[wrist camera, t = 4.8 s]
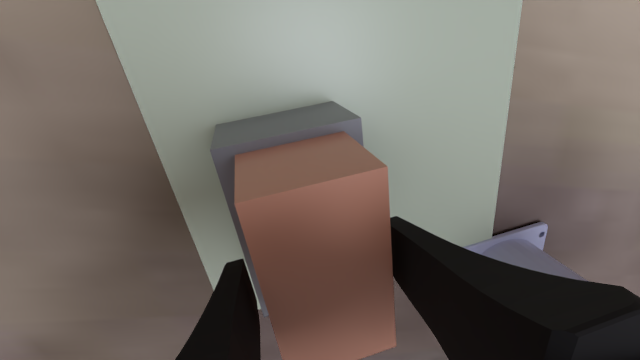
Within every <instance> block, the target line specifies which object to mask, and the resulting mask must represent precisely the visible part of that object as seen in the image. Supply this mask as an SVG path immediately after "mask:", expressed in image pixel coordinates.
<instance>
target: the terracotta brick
mask: <svg viewBox="0 0 640 360" xmlns="http://www.w3.org/2000/svg"><path fill="white" fill-rule="evenodd" d="M234 204H235V207H236V211H237V214H238V217H239V220H240V224H241V227H242V230H243V233H244V236H245V240H246V243H247V246H248V249H249V253H250V256H251V259H252V262H253V266H254V269H255V272H256V275H257V279H258V282H259V285H260V288H261V291H262V295H263V298H264V301H265V304H266V308H267V311H268V314H269V317H270V321H271V324H272V327H273V330H274V333H275V337H276V340H277V343H278V346H279V350H280V353H281V356H282V359H283V360H359V359H362V358H365V357H367V356H370V355H373V354H376V353H379V352H382V351H385V350H387V349H390V348H393V347H396V329H395V308H394V288H393V267H392V246H391V225H390V205H389V184H388V166H386V165H385V164H384V163H383V162H382V161H380V160H379V159H378V158H377V157H375V156H374V155H373V154H372V153H370V152H369V151H368V150H367V149H365V148H364V147H363V146H362V145H360V144H359V143H358V142H357V141H356V140H354V139H353V138H352V137H351V136H349V135H348V134H347V133H346V132H344V131H342V132H338V133H333V134H329V135H324V136H319V137H315V138H310V139H306V140H301V141H296V142H292V143H287V144H283V145H278V146H274V147H269V148H264V149H260V150H255V151H251V152H246V153H241V154H237V155H235V189H234Z"/></svg>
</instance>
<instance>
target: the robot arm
mask: <svg viewBox="0 0 640 360" xmlns="http://www.w3.org/2000/svg"><path fill="white" fill-rule="evenodd" d="M390 225H391V246H392V267H393V276H394V278H395V280H396V281H397V283H398V284H399V286H400V287H401V289H402V290H403V291H404V293H405V294H406V296H407V297H408V299H409V300H410V301H411V303H412V304H413V305H414V307H415V308H416V310H417V311H418V312H419V314H420V315H421V317H422V318H423V319H424V321H425V322H426V324H427V325H428V326H429V328H430V329H431V331H432V332H433V334H434V335H435V337H436V338H437V340H438V342H439V343H440V345H441V347H442V349H443V350H444V352H445V354H446V355H447V357H448V359H449V360H640V297H638V296H636V295H635V294H633V293H632V292H630V291H628V290H627V289H625V288H624V287H622V286H615V285H609V284H602V283H595V282H589V281H587V280H585V279H584V278H583V277H581V276H580V275H578V274H577V273H575V272H574V271H572V270H571V269H569V268H568V267H566V266H565V265H563V264H562V263H560V262H559V261H557V260H556V259H554V258H553V257H551V256H550V255H548V254H547V253H545V252H544V251H543V247H544V242H545V238H546V234H547V229H548V225H547V224H546V223H544V222H538V223H535V224H532V225H528V226H525V227H522V228H519V229H515V230H512V231H509V232H505V233H502V234H499V235H496V236H492V238H491V239H488V240H484V241H481V242H478V243H475V244H471V245H468V246H465V247H461V246H458V245H456V244H453V243H451V242H449V241H447V240H444V239H442V238H440V237H438V236H436V235H434V234H432V233H430V232H428V231H426V230H424V229H422V228H420V227H418V226H416V225H414V224H412V223H410V222H408V221H406V220H404V219H402V218H400V217H398V216H394V217H391V218H390ZM175 360H260V322H259V314H258V307H257V300H256V296H255V293H254V290H253V287H252V284H251V280H250V277H249V274H248V271H247V268H246V265H245V262H244V259H243V258H242V259H239V260H235V261H231V262H228V263H226V264H225V266H224V268H223V271H222V273H221V276H220V278H219V281H218V283H217V285H216V287H215V290H214V292H213V294H212V296H211V298H210V300H209V302H208V304H207V306H206V308H205V310H204V312H203V314H202V316H201V318H200V319H199V321H198V323H197V325H196V327H195V328H194V330H193V332H192V334H191V335H190V337H189V339H188V340H187V342H186V344H185V345H184V347H183V349H182V350H181V352H180V353H179V355H178V356H177V358H176V359H175Z"/></svg>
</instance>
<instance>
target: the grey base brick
mask: <svg viewBox="0 0 640 360" xmlns="http://www.w3.org/2000/svg"><path fill="white" fill-rule="evenodd" d="M342 131H344V132H346V133H347V134H348V135H349V136H351V137H352V138H353V139H354V140H356V141H357V142H358V143H359V144H360V145H362V146H363V147H364V145H363V133H362V122H361V117H359V116H358V115H356V114H354V113H353V112H351V111H349V110H347V109H346V108H344V107H342V106H341V105H339V104H337V103H336V102H334V101H331V102H326V103H321V104H316V105H311V106H306V107H301V108H296V109H291V110H286V111H281V112H276V113H271V114H266V115H261V116H257V117H252V118H247V119H242V120H237V121H232V122H227V123H222V124H217V125H216V127H215V131H214V135H213V139H212V143H211V147H210V152H211V155H212V159H213V162H214V165H215V168H216V171H217V174H218V177H219V180H220V183H221V186H222V189H223V192H224V195H225V199H226V202H227V205H228V208H229V211H230V214H231V217H232V220H233V223H234V226H235V229H236V232H237V235H238V239H239V242H240V245H241V248H242V251H243V254H244V257H245V260H246V263H247V266H248V269H249V272H250V276H251V279H252V282H253V285H254V288H255V291H256V294H257V297H258V300H259V303H260V306H261V309H262V312H263V316H264V317H267V316H269V314H268V311H267V308H266V304H265V301H264V298H263V295H262V291H261V288H260V285H259V282H258V279H257V275H256V272H255V269H254V266H253V262H252V259H251V256H250V253H249V249H248V246H247V243H246V240H245V236H244V233H243V230H242V227H241V224H240V220H239V217H238V214H237V211H236V207H235V204H234V189H235V155H237V154H241V153H246V152H251V151H255V150H260V149H264V148H269V147H274V146H278V145H283V144H287V143H292V142H296V141H301V140H306V139H310V138H315V137H319V136H324V135H329V134H333V133H338V132H342Z"/></svg>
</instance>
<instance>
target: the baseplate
mask: <svg viewBox="0 0 640 360" xmlns="http://www.w3.org/2000/svg"><path fill="white" fill-rule="evenodd" d="M522 1H523V0H96V3H97V5H98V8H99V10H100V13H101V15H102V17H103V20H104V22H105V25H106V27H107V30H108V32H109V35H110V37H111V40H112V42H113V44H114V47H115V49H116V52H117V54H118V57H119V59H120V62H121V64H122V67H123V69H124V71H125V74H126V76H127V79H128V81H129V84H130V86H131V89H132V91H133V94H134V96H135V98H136V101H137V103H138V106H139V108H140V111H141V113H142V116H143V118H144V121H145V123H146V125H147V128H148V130H149V133H150V135H151V138H152V140H153V143H154V145H155V148H156V150H157V153H158V155H159V157H160V160H161V162H162V165H163V167H164V170H165V172H166V175H167V177H168V180H169V182H170V184H171V187H172V189H173V192H174V194H175V197H176V199H177V202H178V204H179V207H180V209H181V211H182V214H183V216H184V219H185V221H186V224H187V226H188V229H189V231H190V234H191V236H192V238H193V241H194V243H195V246H196V248H197V251H198V253H199V256H200V258H201V261H202V263H203V265H204V268H205V270H206V273H207V275H208V278H209V280H210V283H211V285H212V288H213V290H215V287H216V285H217V283H218V281H219V278H220V276H221V273H222V271H223V268H224V266H225V264H226V263H228V262H231V261H235V260H239V259H242V258H243V259H244V262H245V265H246V268H247V271H248V274H249V277H250V280H251V284H252V287H253V290H254V293H255V296H256V300H257V307H258V310H259V309H261V306H260V303H259V300H258V297H257V294H256V291H255V288H254V285H253V282H252V279H251V276H250V272H249V269H248V266H247V263H246V260H245V257H244V254H243V251H242V248H241V245H240V242H239V239H238V235H237V232H236V229H235V226H234V223H233V220H232V217H231V214H230V211H229V208H228V205H227V202H226V199H225V195H224V192H223V189H222V186H221V183H220V180H219V177H218V174H217V171H216V168H215V165H214V162H213V159H212V155H211V152H210V147H211V143H212V139H213V135H214V131H215V127H216V125H217V124H222V123H227V122H232V121H237V120H242V119H247V118H252V117H257V116H261V115H266V114H271V113H276V112H281V111H286V110H291V109H296V108H301V107H306V106H311V105H316V104H321V103H326V102H331V101H334V102H336V103H337V104H339V105H341V106H342V107H344V108H346V109H347V110H349V111H351V112H353V113H354V114H356V115H358V116H359V117H361V122H362V133H363V145H364V148H365V149H367V150H368V151H369V152H370V153H372V154H373V155H374V156H375V157H377V158H378V159H379V160H380V161H382V162H383V163H384V164H385V165H386V166H388V184H389V205H390V218H391V217H394V216H398V217H400V218H402V219H404V220H406V221H408V222H410V223H412V224H414V225H416V226H418V227H420V228H422V229H424V230H426V231H428V232H430V233H432V234H434V235H436V236H438V237H440V238H442V239H444V240H447V241H449V242H451V243H453V244H456V245H458V246H461V247H465V246H468V245H471V244H475V243H478V242H481V241H484V240H488V239H491V238H492V233H493V225H494V217H495V210H496V202H497V194H498V186H499V179H500V171H501V163H502V155H503V148H504V140H505V132H506V124H507V117H508V109H509V101H510V94H511V86H512V78H513V70H514V63H515V55H516V47H517V39H518V32H519V24H520V16H521V8H522Z"/></svg>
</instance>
